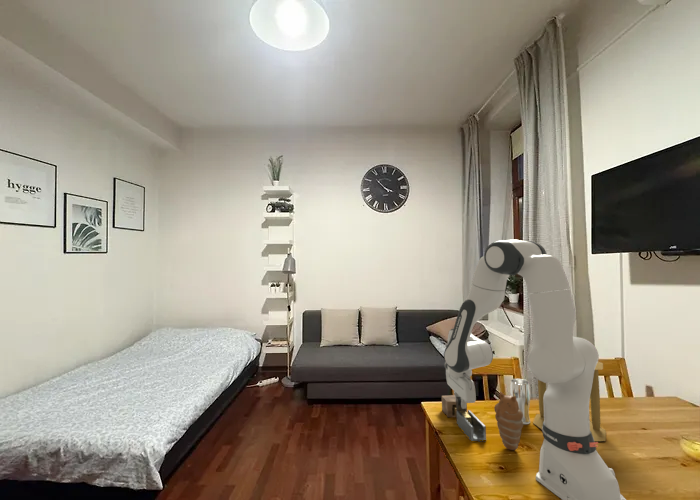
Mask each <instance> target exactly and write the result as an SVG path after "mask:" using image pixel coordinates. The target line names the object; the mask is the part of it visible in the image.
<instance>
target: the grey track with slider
mask: <svg viewBox="0 0 700 500" xmlns="http://www.w3.org/2000/svg"><path fill="white" fill-rule="evenodd" d="M467 413H468V414H469V415H470V416H471V419H472V425H471V424H470V423H469V422H468V421H467V419H466V418H465V417H464V416H463V415H462V414H461V413H460V412H459V411H457V417H456V425H457V424H458V425H457V426H458V428H459V429H460V428H461V429H462V430H463V431H464V432H463V431H462V430H461V429H460V430H461V431H462V432H463V434H466V435H467V436H468V437H469V438H468V437H467V436H466V435H465V436H466V437H467V438H468V440H469V441H470V440H471V441H478V442H484V441H483V440H486V441H487V427H486V425H485V424H484V422H482V421H481V419H479V418H478V417H477V416H476V415H475V414H474V413H473V412H472V411H471V410H470V409H467ZM480 440H482V441H480ZM471 441H470V442H471Z"/></svg>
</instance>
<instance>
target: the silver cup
mask: <svg viewBox="0 0 700 500" xmlns="http://www.w3.org/2000/svg"><path fill="white" fill-rule="evenodd" d="M509 385H510V387H509V389H510V391H509V392H510V396H516V400H517V402H518V405H519V409H520V410H521V411H522V413H523V418H522V422H523V425H529V424H530V423H531V418H530V413H529V412H530V411H529V410H530V409H529V408H530V403H531V386H530V381H528V380H526V379H522V378H511V379H510V384H509Z"/></svg>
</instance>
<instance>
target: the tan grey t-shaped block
mask: <svg viewBox="0 0 700 500" xmlns="http://www.w3.org/2000/svg"><path fill="white" fill-rule="evenodd" d="M460 403H461V397H456V405H452V413H453V414H454V415H455V416H456V417H455V418H457V411H459V412H460V413H461V414H462V415H463V416H464V417H465V418H466V419H467V421H468V422H469V423H470V424H471V425H472V419H471V416H470V415H469V414H468V411H467V412H466V409H462V408H461V406H460Z"/></svg>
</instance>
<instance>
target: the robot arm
mask: <svg viewBox="0 0 700 500" xmlns="http://www.w3.org/2000/svg"><path fill="white" fill-rule="evenodd" d="M483 254H484V255H482V257H480V258H479V260H478V261H477V265H476V267H475V269H474V273H473V278H472V281H471V286H470V290H469V292H468V294H467V297H466V298H465V300H464V302H462V304H461V306H460V307H459V310H458V313H457V316H456V320H455V324H454V325H453V326H454V327H453V328H451V329H449V331H448V334H447V345H446V347H445V349H444V353H443V358H444V368H445V379H446V383H447V386H449V387H450V389H452V391H453V393H454V394H453V395H455V401H456V397H461V403H460V406H461V408H462V409H466V404H467V405H468V404H472V403H474V404H475V402H476V400H477V397H476V396H477V395H476V386H475V382H474V381H473V379H472V377H471V376H472V375H473V369H474V370H475V369H478V368H481V367H482V368H483V367H486V366H489V365H491V363H492V361H493V357H494V353H493V349H492V347H491V345H490V344H489V343H488V342H487V341H486V340H484V339H483V340H482V339H480V338H479V337H478V336H476V335H475V334H473V333H472V330H473V329H474V326H475V324H476V323H477V322H478V321H479V320H480V319H481V318H483V317H484V316H486V315H488V314H490V313H492V312H495V311H496V310H498V308H500V306H501V305H502V304H503V303H502V302H503V300H504V298H505V294H506V288H507V282H508V278H509V277H510V276H516V275H518V276H520V277H522V278H523V280H524V282H525V284H526V289H527V294H528V298H529V299H528V300H529V305H530V310H531V314H532V323H533V324H532V325H533V327H532V329H533V330H532V340H531V341H532V342H531V349H530V350H529V353H528V355H527V360H526V363H527V368H528V369H529V372H530V374H532V375H533V377H535V379H537V381H538V380H540V381H542V382H544V383H546V384H548V385H547V386H546V391H545V393H544V397H543V403H544V422H543V426H542V430H541V431H542V436H543V438H544V439H543V442H542V444H541V447H540V451H539V464H538V465H539V466H538V472H536V475H535V480H536V481H537V482H539V483H540V484H541V485H542V486H544V487H545V488H546V489H547V490H549V491H551V492H552V493H553V494H554V495H556V496H557V497H558V498H560V499H561V500H627V499H626V498H625V497H624V496H623V494H621V491H620V490H621V489H620V485H619V482H618V480H617V478H616V473H615V471H614V469H613V468H612V467H611V468H610V467H608V465H607V463H605V461H604V459H603V458H602V457H601V455H600V454H599V453H598V451H597V448H598V447H599V445H598V444H599V441H594V438H593V436H592V433H591V431H590V421H591V420H590V402H591V399H590V394H591V388H592V383H593V376H594V370H595V367H596V364H597V362H598V361H599V359H600V358H599V351H598V350H597V349H598V348H596V346H595V345H594V344H593V343H592V342H591V341H589V340H588V339H586V338H584V337H579V336H574V325H575V321H576V319H577V313H576V309H575V304H574V300H573V296H572V292H571V289H570V288H571V287H570V284H569V280H568V277H567V274H566V272H565V269H564V267H563V265H562V263H561V260H560V259H559V258H557V257H556V256H554V255H550V254H547V251H546V249H545V248H544V246H542V245H541V244H539V243H538V242H535V241H532V240H519V239H506V240H504V239H501V240H500V239H499V240H496V241H494V242H492V243H490V244H489V245H488V246H486V247H485V251H484V253H483Z"/></svg>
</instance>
